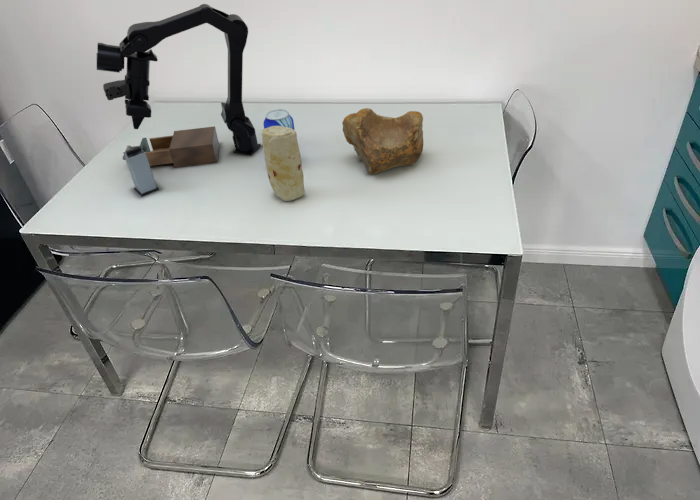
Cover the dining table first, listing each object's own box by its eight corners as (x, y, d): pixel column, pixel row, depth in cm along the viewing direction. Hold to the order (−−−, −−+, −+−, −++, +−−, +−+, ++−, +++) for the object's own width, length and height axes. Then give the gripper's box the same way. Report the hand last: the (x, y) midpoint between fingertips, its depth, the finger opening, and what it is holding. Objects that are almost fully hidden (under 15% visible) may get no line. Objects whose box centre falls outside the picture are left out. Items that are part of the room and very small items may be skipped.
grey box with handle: (152, 182, 164) (138, 142, 156) (159, 189, 160) (146, 149, 152) (134, 189, 161) (119, 149, 153) (141, 196, 158) (127, 156, 150)
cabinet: (174, 167, 170) (169, 149, 166) (179, 148, 179) (174, 130, 175) (216, 162, 170) (212, 144, 166) (219, 144, 180) (215, 126, 176)
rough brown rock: (340, 182, 158) (337, 136, 148) (345, 149, 170) (342, 104, 160) (423, 183, 156) (426, 136, 146) (422, 149, 168) (425, 104, 158)
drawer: (124, 170, 169) (119, 156, 166) (131, 153, 177) (126, 139, 175) (180, 163, 170) (176, 150, 167) (184, 146, 178) (180, 133, 176)
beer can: (305, 162, 166) (298, 112, 157) (283, 174, 162) (275, 123, 152) (286, 154, 171) (278, 105, 161) (265, 166, 167) (255, 115, 157)
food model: (308, 190, 154) (299, 122, 142) (302, 203, 149) (292, 135, 137) (274, 188, 156) (263, 121, 144) (267, 201, 151) (254, 133, 139)
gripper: (104, 59, 156) (104, 113, 164) (106, 82, 142) (105, 140, 150) (147, 65, 160) (144, 117, 168) (152, 87, 146) (149, 143, 154)
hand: (135, 128), depth 160 cm, fingers closed
